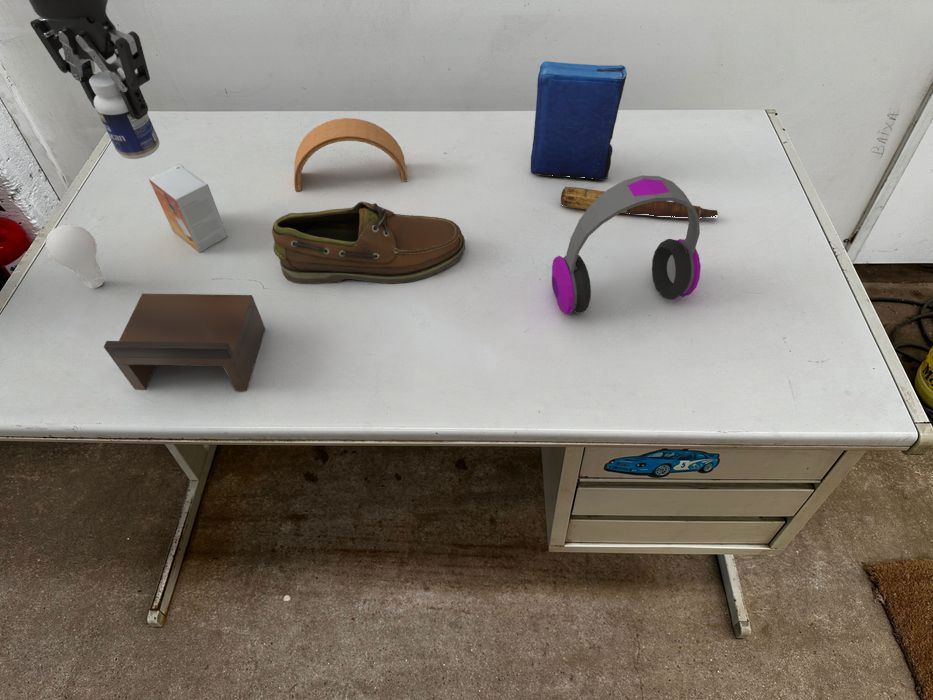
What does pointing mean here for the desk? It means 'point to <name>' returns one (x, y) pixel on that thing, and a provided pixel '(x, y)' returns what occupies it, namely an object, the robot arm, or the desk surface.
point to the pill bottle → (122, 120)
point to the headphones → (671, 258)
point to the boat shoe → (364, 245)
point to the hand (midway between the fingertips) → (121, 110)
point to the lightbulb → (75, 252)
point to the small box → (189, 207)
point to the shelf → (190, 336)
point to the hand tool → (657, 208)
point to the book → (576, 119)
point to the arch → (346, 132)
